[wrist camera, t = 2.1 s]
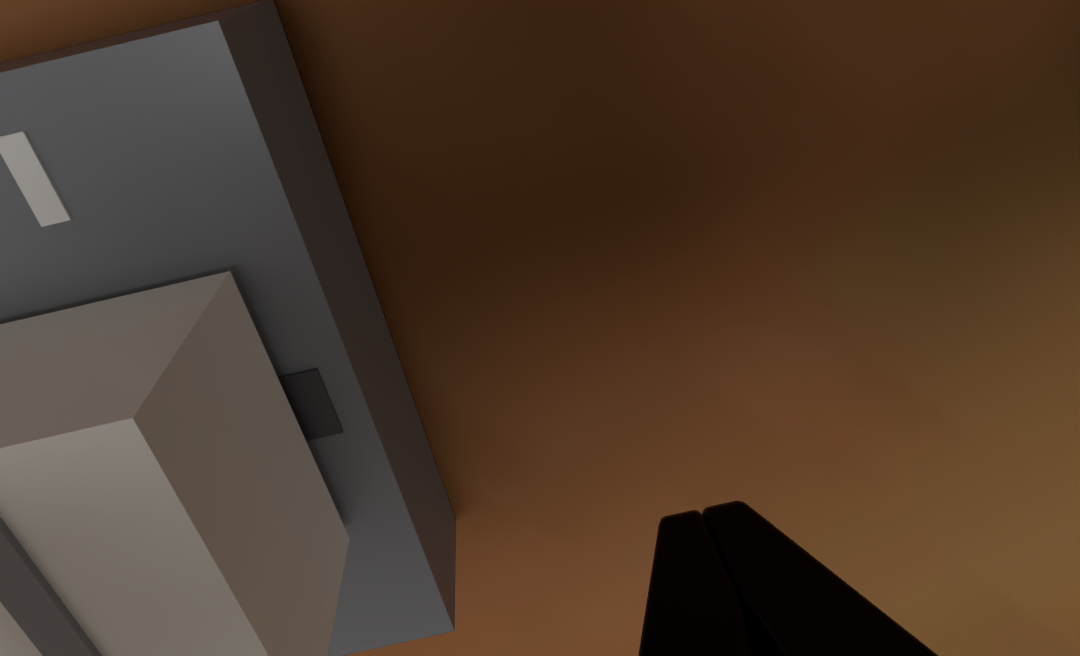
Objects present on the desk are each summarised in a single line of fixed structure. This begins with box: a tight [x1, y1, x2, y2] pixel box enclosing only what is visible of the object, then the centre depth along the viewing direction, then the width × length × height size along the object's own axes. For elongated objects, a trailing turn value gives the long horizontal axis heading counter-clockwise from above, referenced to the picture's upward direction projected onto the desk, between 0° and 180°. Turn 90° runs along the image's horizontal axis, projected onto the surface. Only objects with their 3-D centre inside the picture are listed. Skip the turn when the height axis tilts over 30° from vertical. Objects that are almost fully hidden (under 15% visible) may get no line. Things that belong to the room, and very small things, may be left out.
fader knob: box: [0, 271, 349, 656], centre depth 10 cm, size 4×5×4 cm
